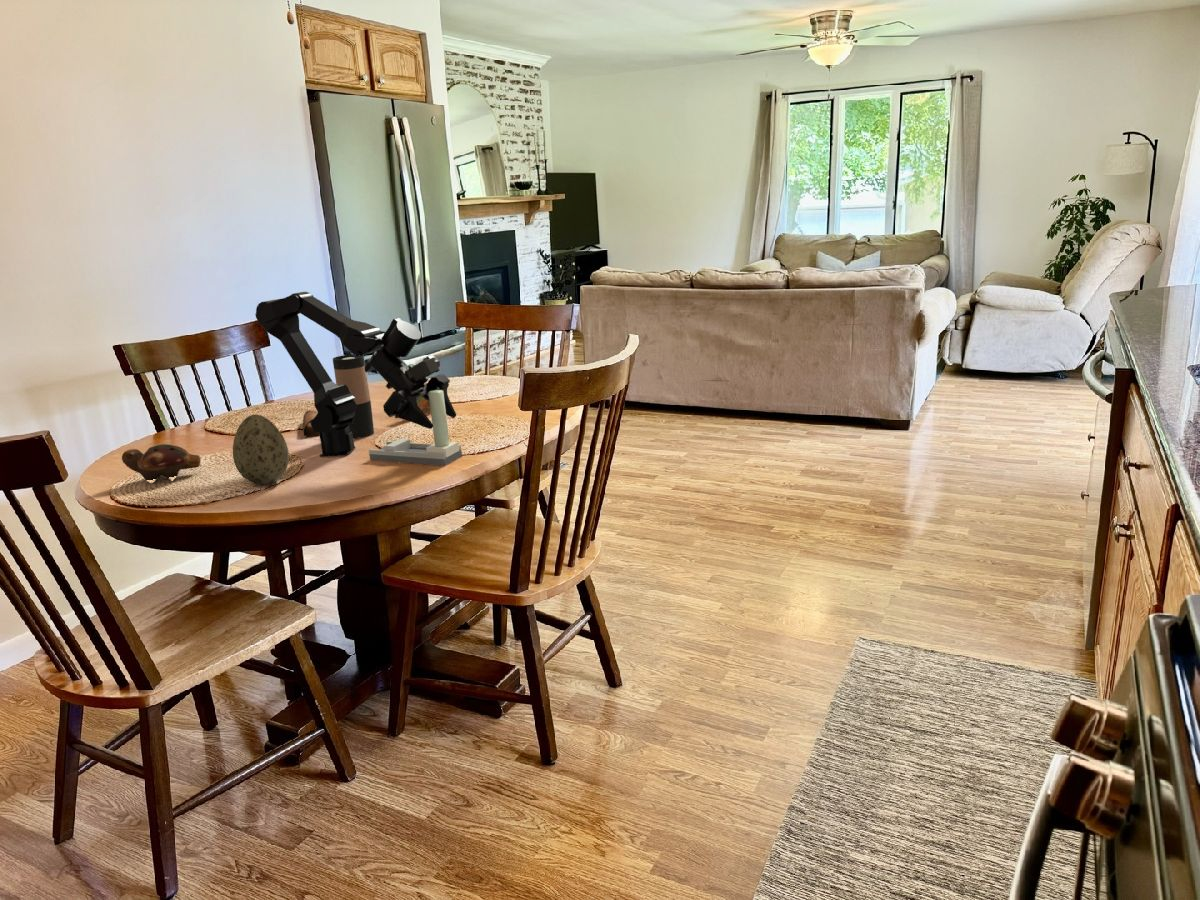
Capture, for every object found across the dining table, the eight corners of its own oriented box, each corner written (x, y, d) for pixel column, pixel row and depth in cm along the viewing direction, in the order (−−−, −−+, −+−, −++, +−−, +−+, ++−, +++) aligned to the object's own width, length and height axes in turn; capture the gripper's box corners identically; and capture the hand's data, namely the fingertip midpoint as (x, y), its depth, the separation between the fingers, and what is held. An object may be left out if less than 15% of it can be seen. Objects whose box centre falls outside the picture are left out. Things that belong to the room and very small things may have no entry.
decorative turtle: (125, 480, 183) (120, 445, 182) (200, 471, 191) (196, 437, 189) (125, 490, 175) (120, 453, 173) (204, 479, 182) (199, 444, 181)
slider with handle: (427, 456, 181) (419, 394, 177) (440, 449, 186) (432, 388, 182) (446, 457, 179) (438, 394, 175) (459, 450, 184) (452, 389, 180)
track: (370, 460, 187) (367, 445, 186) (388, 451, 193) (386, 437, 192) (445, 465, 179) (443, 450, 178) (462, 456, 185) (460, 441, 184)
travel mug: (346, 440, 205) (334, 361, 199) (342, 433, 212) (330, 356, 206) (377, 435, 208) (366, 357, 202) (372, 429, 215) (361, 352, 209)
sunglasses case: (339, 432, 213) (321, 413, 210) (316, 449, 212) (299, 430, 209) (335, 418, 229) (319, 399, 226) (315, 433, 228) (298, 415, 225)
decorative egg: (255, 476, 181) (242, 409, 176) (302, 474, 179) (290, 407, 175) (229, 492, 170) (215, 422, 166) (278, 491, 169) (265, 420, 165)
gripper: (387, 353, 169) (439, 407, 168) (437, 338, 186) (485, 387, 185) (361, 390, 175) (412, 443, 173) (413, 372, 191) (459, 420, 190)
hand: (443, 421), depth 180 cm, fingers open, 9 cm apart
